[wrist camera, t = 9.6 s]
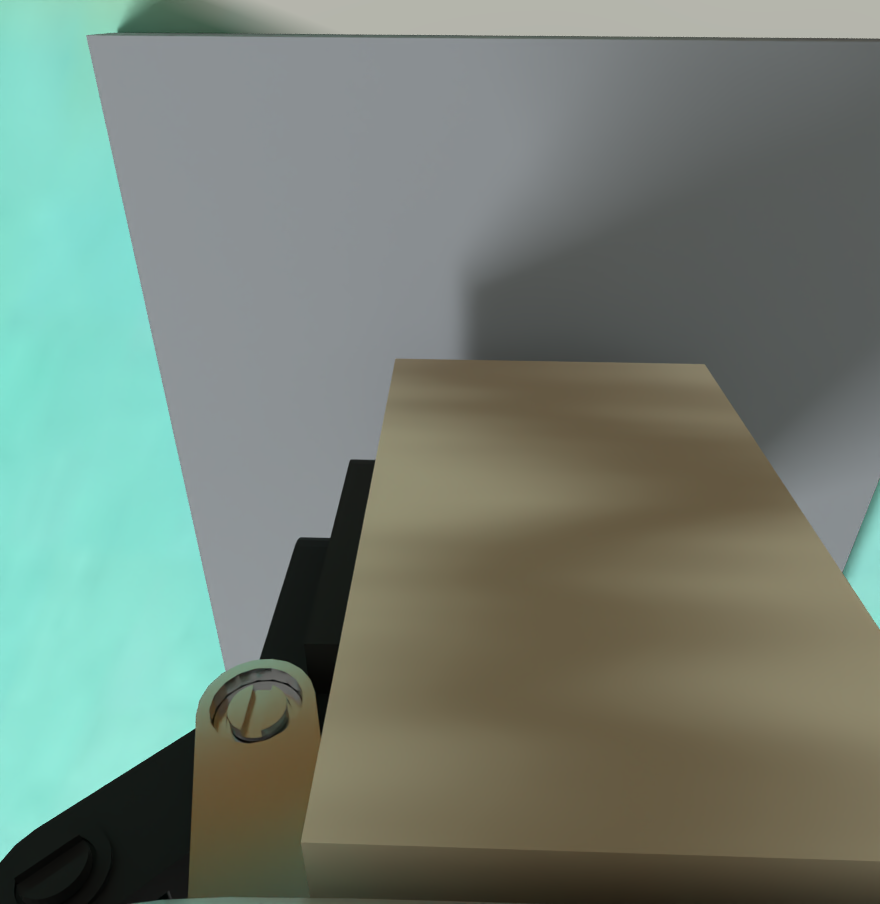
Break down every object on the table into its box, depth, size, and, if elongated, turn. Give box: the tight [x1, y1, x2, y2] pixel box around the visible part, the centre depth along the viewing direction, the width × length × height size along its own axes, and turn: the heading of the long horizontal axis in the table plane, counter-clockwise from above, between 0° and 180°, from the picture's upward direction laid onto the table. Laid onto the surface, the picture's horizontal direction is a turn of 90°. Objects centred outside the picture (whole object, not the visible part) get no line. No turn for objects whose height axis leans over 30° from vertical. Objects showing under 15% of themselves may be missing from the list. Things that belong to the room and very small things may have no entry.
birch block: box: [301, 359, 880, 904], centre depth 10 cm, size 5×5×8 cm
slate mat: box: [86, 33, 880, 671], centre depth 15 cm, size 14×14×1 cm
